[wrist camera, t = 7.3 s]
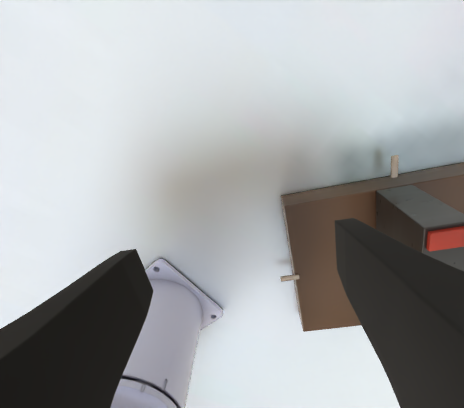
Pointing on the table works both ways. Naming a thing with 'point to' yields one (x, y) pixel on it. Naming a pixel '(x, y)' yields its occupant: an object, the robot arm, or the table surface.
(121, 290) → the robot arm
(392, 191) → the red tipped gray strip
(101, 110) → the table surface
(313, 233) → the base
